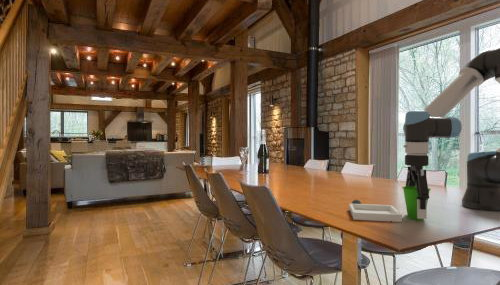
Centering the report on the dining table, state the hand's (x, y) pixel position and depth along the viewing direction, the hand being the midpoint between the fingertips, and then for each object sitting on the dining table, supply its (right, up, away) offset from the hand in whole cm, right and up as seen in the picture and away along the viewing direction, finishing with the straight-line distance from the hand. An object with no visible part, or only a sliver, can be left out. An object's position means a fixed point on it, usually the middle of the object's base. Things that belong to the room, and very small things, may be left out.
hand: (416, 214), depth 116 cm
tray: (-13, -2, +5) cm, 14 cm away
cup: (0, -2, 0) cm, 2 cm away
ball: (-16, -1, +17) cm, 23 cm away
